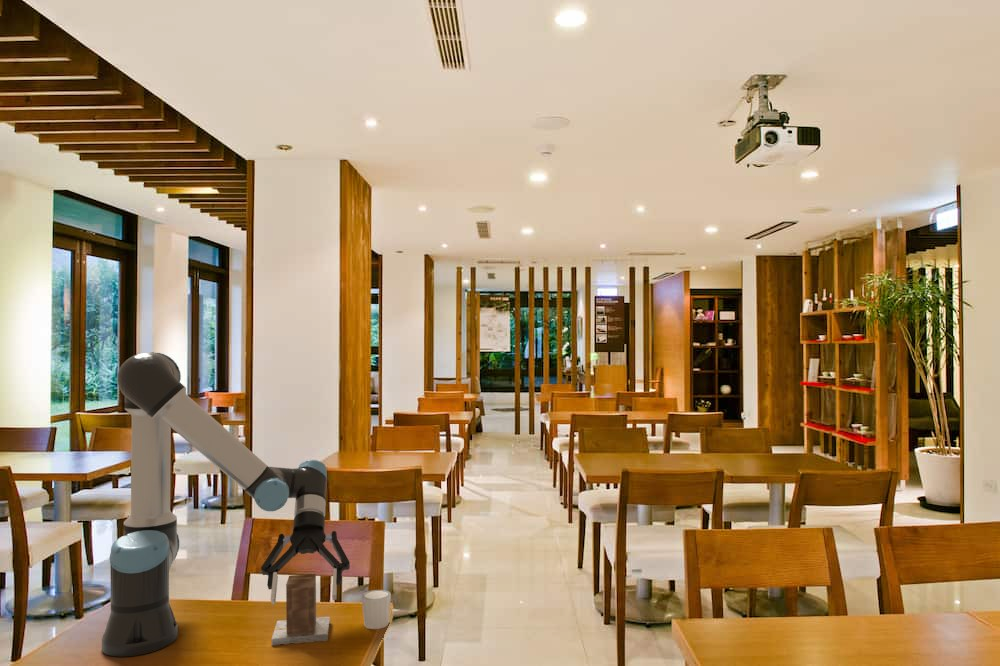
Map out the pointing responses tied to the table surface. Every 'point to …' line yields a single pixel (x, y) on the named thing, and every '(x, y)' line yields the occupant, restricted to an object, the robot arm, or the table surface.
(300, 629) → the brown slotted box
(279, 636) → the grey stand base
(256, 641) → the table surface
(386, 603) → the white cup
